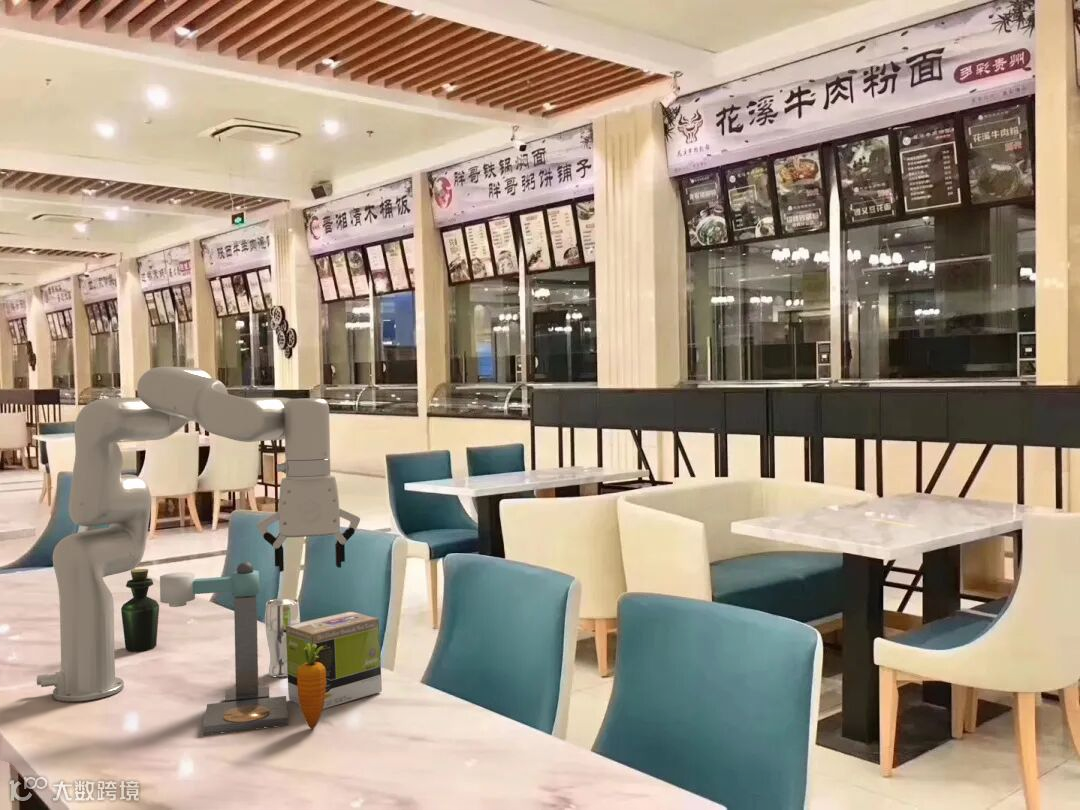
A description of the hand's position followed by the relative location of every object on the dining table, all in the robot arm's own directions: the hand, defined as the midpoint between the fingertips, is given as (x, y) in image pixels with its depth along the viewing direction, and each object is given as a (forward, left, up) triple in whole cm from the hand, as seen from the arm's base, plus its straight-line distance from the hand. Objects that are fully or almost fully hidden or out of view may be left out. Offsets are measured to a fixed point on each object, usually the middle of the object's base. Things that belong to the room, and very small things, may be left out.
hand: (310, 568), depth 161 cm
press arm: (-17, +19, -9) cm, 27 cm away
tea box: (+5, +16, -28) cm, 33 cm away
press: (-11, +13, -28) cm, 33 cm away
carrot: (0, 0, -28) cm, 28 cm away
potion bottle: (-35, +66, -28) cm, 80 cm away
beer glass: (-4, +35, -28) cm, 45 cm away
